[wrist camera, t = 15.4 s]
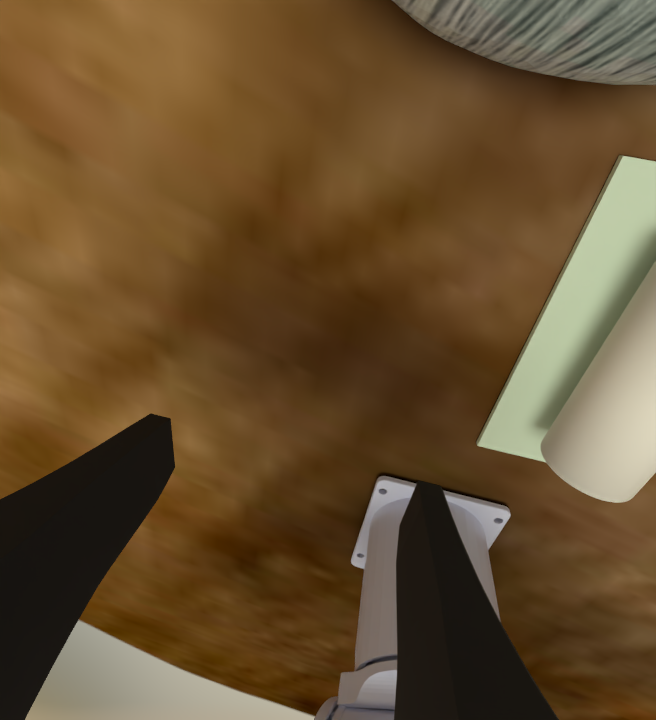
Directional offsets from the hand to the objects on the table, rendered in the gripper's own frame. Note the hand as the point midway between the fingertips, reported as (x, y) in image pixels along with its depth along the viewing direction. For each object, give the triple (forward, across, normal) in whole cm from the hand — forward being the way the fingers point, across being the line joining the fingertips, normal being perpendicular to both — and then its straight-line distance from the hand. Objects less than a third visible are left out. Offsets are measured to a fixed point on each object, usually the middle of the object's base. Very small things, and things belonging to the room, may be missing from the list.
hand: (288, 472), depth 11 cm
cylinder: (+9, -12, -2) cm, 16 cm away
